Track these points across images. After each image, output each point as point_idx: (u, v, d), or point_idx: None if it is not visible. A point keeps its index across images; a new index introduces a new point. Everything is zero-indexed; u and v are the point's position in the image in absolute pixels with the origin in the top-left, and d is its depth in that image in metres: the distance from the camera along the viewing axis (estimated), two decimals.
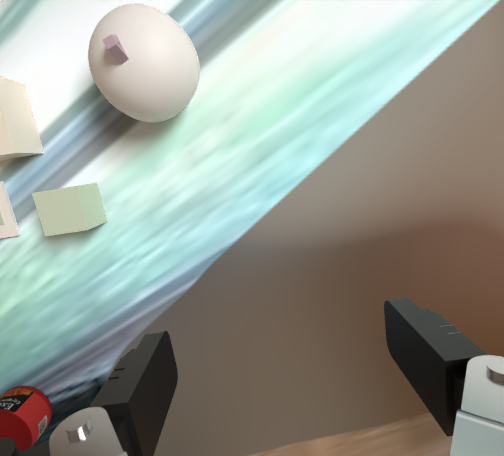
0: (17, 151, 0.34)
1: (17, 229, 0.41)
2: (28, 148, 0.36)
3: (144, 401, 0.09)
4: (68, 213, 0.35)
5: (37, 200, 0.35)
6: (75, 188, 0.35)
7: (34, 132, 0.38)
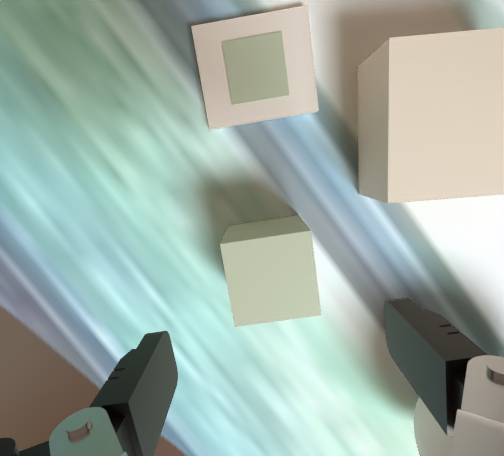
0: None
1: (221, 127, 0.20)
2: None
3: (144, 401, 0.09)
4: (267, 295, 0.18)
5: (296, 238, 0.17)
6: (316, 313, 0.18)
7: None
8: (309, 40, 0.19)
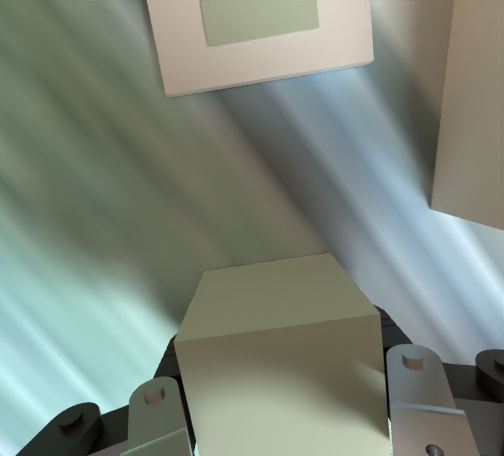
0: None
1: (189, 92, 0.11)
2: None
3: None
4: (279, 445, 0.08)
5: (346, 330, 0.08)
6: None
7: None
8: None
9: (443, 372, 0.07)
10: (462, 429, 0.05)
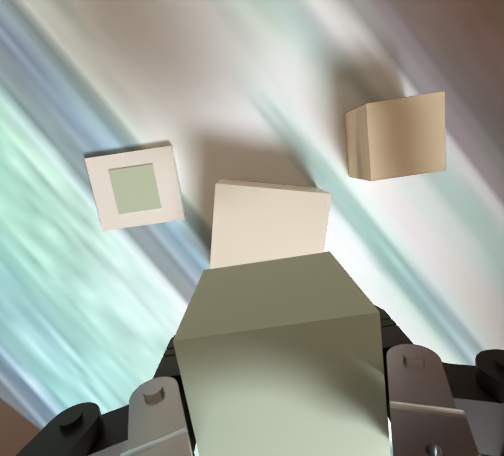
0: None
1: (113, 228, 0.27)
2: None
3: None
4: (279, 444, 0.08)
5: (345, 329, 0.08)
6: None
7: None
8: (173, 170, 0.25)
9: (443, 372, 0.07)
10: (462, 429, 0.05)
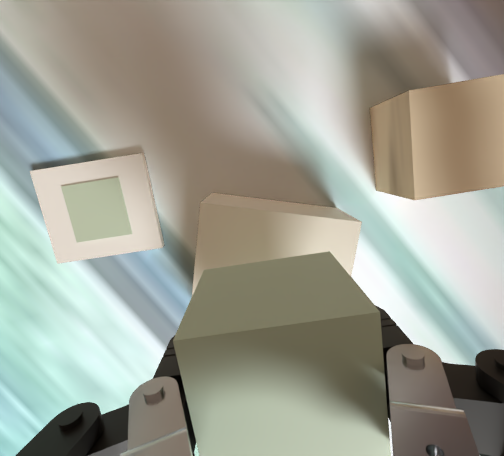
0: None
1: (71, 260, 0.21)
2: None
3: None
4: (279, 444, 0.08)
5: (345, 329, 0.08)
6: None
7: None
8: (146, 184, 0.19)
9: (443, 372, 0.07)
10: (462, 429, 0.05)
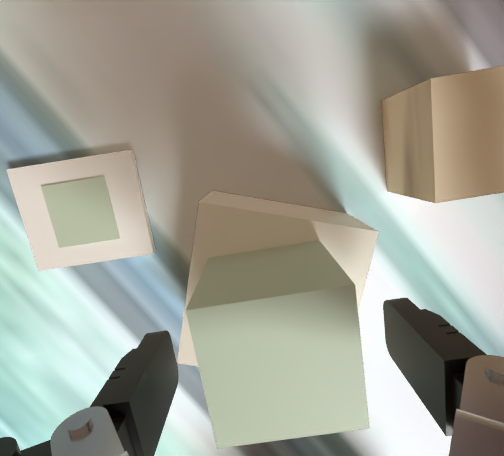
0: None
1: (53, 267, 0.19)
2: None
3: (145, 401, 0.09)
4: (274, 397, 0.10)
5: (327, 299, 0.09)
6: (362, 426, 0.10)
7: None
8: (135, 184, 0.18)
9: None
10: None
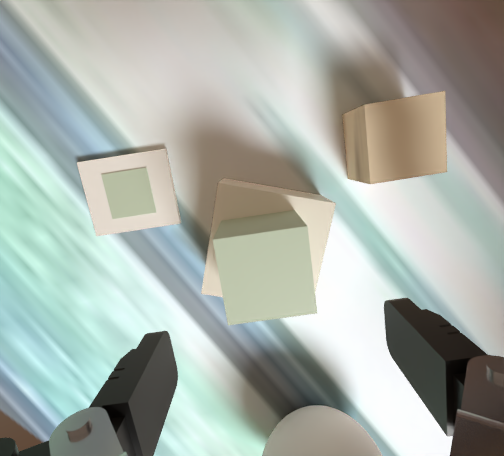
0: None
1: None
2: None
3: (144, 401, 0.09)
4: (261, 293, 0.17)
5: (292, 234, 0.17)
6: (312, 312, 0.17)
7: None
8: (168, 173, 0.25)
9: None
10: None
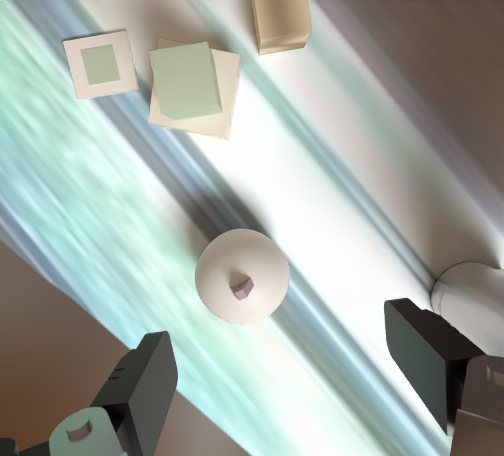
0: None
1: (85, 98, 0.36)
2: (159, 125, 0.34)
3: (144, 401, 0.09)
4: (181, 90, 0.27)
5: (198, 47, 0.26)
6: (215, 104, 0.27)
7: (180, 130, 0.36)
8: (128, 49, 0.35)
9: None
10: None
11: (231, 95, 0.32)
